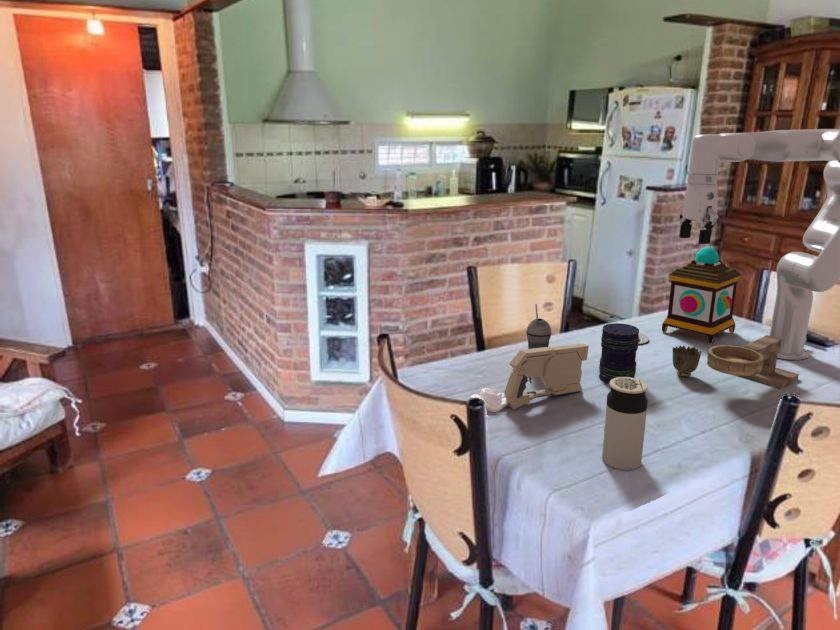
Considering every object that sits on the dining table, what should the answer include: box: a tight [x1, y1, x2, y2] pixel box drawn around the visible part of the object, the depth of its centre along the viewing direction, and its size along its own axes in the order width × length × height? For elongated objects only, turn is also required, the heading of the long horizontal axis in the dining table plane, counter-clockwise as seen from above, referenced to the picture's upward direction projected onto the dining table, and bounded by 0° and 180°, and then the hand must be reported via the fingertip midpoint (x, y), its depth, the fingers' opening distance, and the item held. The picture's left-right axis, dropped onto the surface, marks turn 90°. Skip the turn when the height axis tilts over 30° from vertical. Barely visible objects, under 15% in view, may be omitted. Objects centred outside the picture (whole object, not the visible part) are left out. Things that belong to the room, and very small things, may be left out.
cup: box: [672, 345, 702, 379], centre depth 166 cm, size 8×7×8 cm
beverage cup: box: [526, 303, 552, 349], centre depth 172 cm, size 7×7×20 cm
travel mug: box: [601, 377, 649, 471], centre depth 123 cm, size 8×8×18 cm
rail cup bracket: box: [706, 334, 799, 389], centre depth 159 cm, size 30×14×12 cm, turn 127°
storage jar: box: [598, 315, 640, 385], centre depth 164 cm, size 10×10×18 cm
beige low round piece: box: [638, 332, 650, 345], centre depth 197 cm, size 12×12×5 cm
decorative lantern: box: [661, 246, 742, 345], centre depth 197 cm, size 20×20×30 cm
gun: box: [504, 342, 590, 410], centre depth 154 cm, size 24×3×15 cm, turn 117°
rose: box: [470, 387, 508, 413], centre depth 153 cm, size 10×4×10 cm
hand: (694, 240), depth 169 cm, fingers open, 9 cm apart
